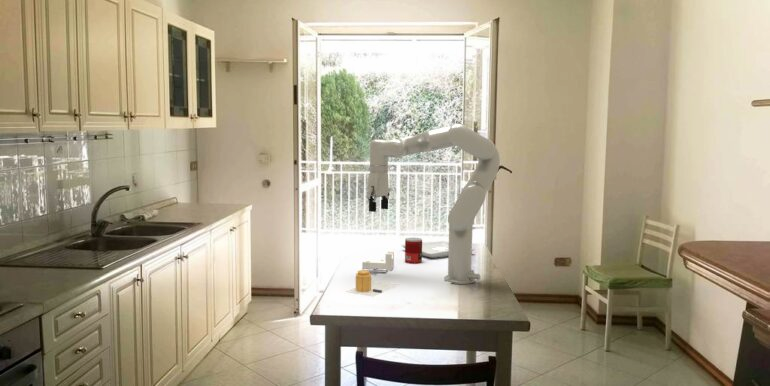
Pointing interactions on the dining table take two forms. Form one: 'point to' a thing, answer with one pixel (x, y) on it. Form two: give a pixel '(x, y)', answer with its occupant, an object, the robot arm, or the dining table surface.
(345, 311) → the dining table surface
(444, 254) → the square plate
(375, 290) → the junction plate
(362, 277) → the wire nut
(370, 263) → the bracket
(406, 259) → the canned food
